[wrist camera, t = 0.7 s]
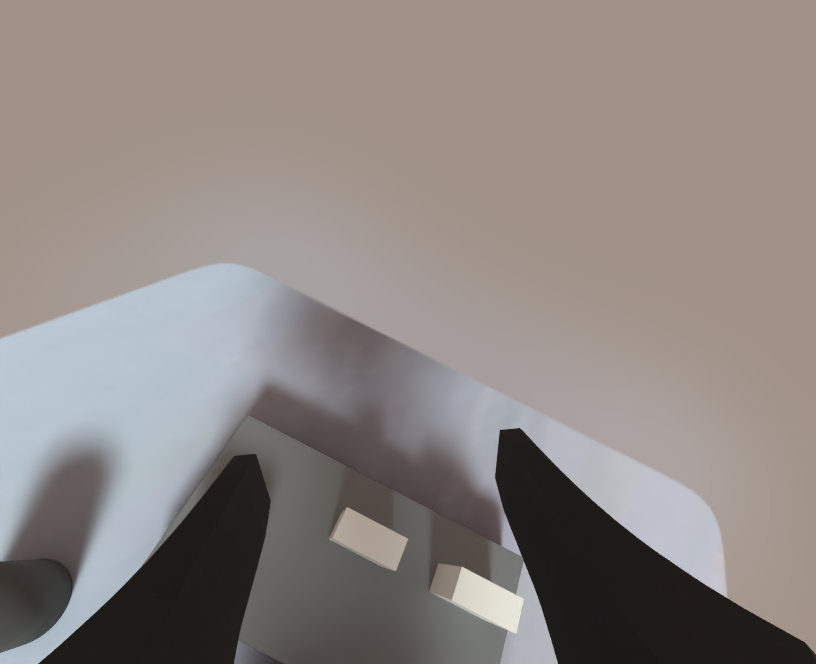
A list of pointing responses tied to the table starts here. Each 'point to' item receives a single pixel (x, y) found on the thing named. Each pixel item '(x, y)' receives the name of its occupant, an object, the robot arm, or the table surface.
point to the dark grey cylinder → (31, 599)
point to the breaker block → (364, 567)
